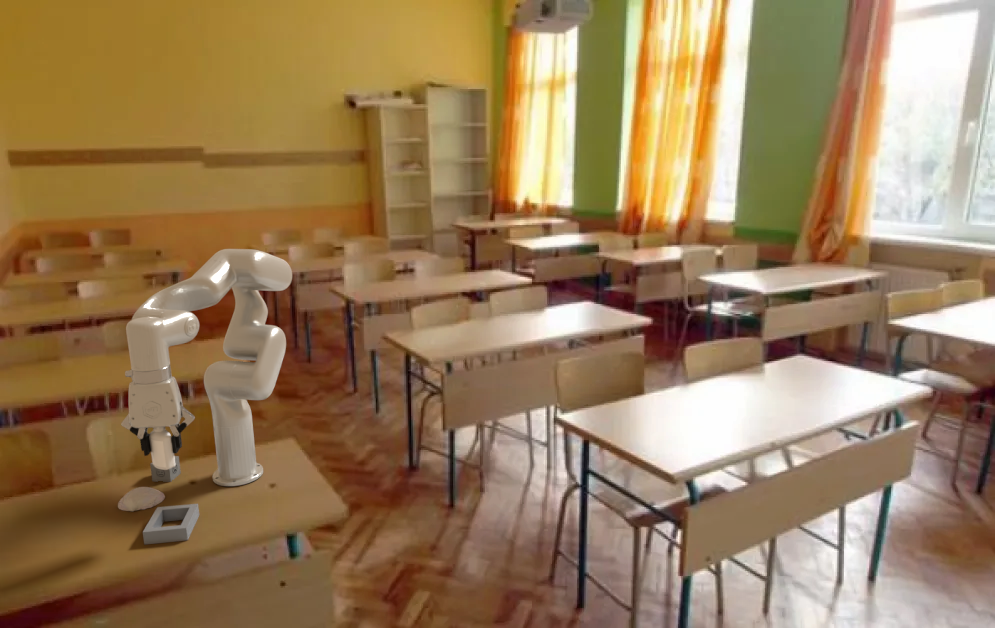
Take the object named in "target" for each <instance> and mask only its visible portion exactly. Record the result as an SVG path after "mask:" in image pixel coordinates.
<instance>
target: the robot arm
mask: <svg viewBox="0 0 995 628" xmlns="http://www.w3.org/2000/svg"><path fill="white" fill-rule="evenodd" d="M292 280H293V271H292V268H291V265H289V263H288V262H287V261H286V260H285V259H282V257H281V258H280V257H278V256H275V255H273V254H270V253H268V252H266V251H262V250H258V249H250V248H249V249H248V248H247V249H246V248H224V249H220V250H219V251H217V252H215V253H214V254H213V255H212V256H211V257H210V258H209V259H208V260H207V261H206V262H205V263H204V264H203V265H202V266H201V267H200V268H199V269H198V270H197V271H195V272H194V274H193V275H192V276H191V277H189V278H187V279H184V280H182V281H179V282H177V283H175V284H172V285H171V286H168V287H166V288H163V289H162V290H160V291H158V292H156V293H154V294H153V295H151V296H150V297H149V298H147V299H146V301H144V302H143V303H142V304H141V305H140V306H139V307H138V308H137V309H136V311H135V313H133V315H132V318H131V320H129V321H128V322H127V324H126V326H125V330H126V331H125V333H126V339H127V346H128V352H129V359H130V360H129V361H130V368H131V369H130V370H125V371H124V375H125V378H131V382H129V385H128V414H127V415H126V416H125V418H124V419H123V420H122V422H121V423H120V425H121V426H122V427H123V428H125V429H127V430H129V432H130V433H132V434H133V435H135V436H137V438H138V439H139V442H140V449H141V452H143V455H144V457H147V456H149V455H150V454H151V447H150V440H149V434H150V433H149V432H148V429H151V428H152V429H153V427H165V428H166V427H169V429H170V431H171V434H172V435H171V441H172V449H173V453H174V455H176V454H178V452H179V451H180V450H181V448H182V447H183V441H182V432H183V431H184V430H185V429H186V428H187V427H188V426H190V424H192V422H194V420H195V418H196V417H195V415H194V414H193V413H192V412H190V411H189V410H188V409H187V408H186V407H184V405H183V399H182V394H181V392H180V388H179V385H178V382H177V379H176V378H175V376H172V375H173V374H172V368H171V360H170V351H169V350H170V349H169V348H170V347H172V346H177V345H183V344H185V343H186V344H187V343H189V342H191V341H192V340H194V338H196V336H197V335H198V332H199V331H200V321H199V319H198V317H197V316H196V315H195V314H194V313H193V311H198V310H203V309H206V308H209V307H212V306H215V305H217V304H218V303H219V302H220V301H221V300H222V299H223V298H224V297H225V296H226V295H227V294H228V292H229V291H230V290H232V292H233V296H234V300H235V301H234V302H235V306H234V310H233V314H232V317H231V319H230V322H229V325H228V328H227V331H226V333H225V337H224V340H223V344H222V350H223V352H224V354H225V355H226V356H227V357H229V358H231V359H235V360H219V361H214V362H213V363H212V364H210V365H208V366H207V368H206V370H205V371H204V375H203V384H204V389H205V392H206V395H207V398H208V400H209V405H210V410H211V417H212V425H213V426H212V428H213V435H214V444H215V445H214V446H215V452H216V462H217V463H216V464H217V469H216V470H214V472H213V474H212V482H214V483H215V484H217V486H222V487H237V486H238V487H239V486H243V485H247V484H250V483H252V482H254V481H256V480H258V479H259V478H260V477H261V476H263V473H264V467H263V465H262V464H261V463H258V462H257V455H256V447H255V446H256V445H255V437H254V436H255V435H254V426H253V415H252V410H251V406H250V405H249V403H248V400H249V401H263V400H266V399H267V398H269V397H270V396H271V394H272V393H273V391H274V388H275V386H276V383H277V380H278V377H279V374H280V370H281V368H282V364H283V360H284V357H285V354H286V350H287V349H286V348H287V339H286V334H285V332H284V331H283V329H281V327H278V326H277V325H273V324H266V322H267V318H268V314H269V309H268V307H267V304H266V302H265V300H264V299H263V296H262V295H261V294H260V291H266V292H267V291H268V292H280V291H284V290H286V289H288V287H289V286H290V285H291V284H292V282H293V281H292ZM241 360H242V361H241ZM251 361H252V362H251ZM253 361H255V362H253ZM182 418H184V420H183V421H182V422H181V419H182ZM180 422H181V423H180Z"/></svg>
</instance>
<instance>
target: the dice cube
mask: <svg viewBox="0 0 995 628" xmlns="http://www.w3.org/2000/svg"><path fill="white" fill-rule="evenodd" d="M174 456H175V464H176V465H175V467H173V468H170V469H168V470H162V469H158V468H156V467H154V465H153V462H151V463H150V464H149V466H150V473H151V481H152V482H158V481H163V482H162V483H171V482H172V480H173V481H174V480H175V479H176V478H177V477H178V476H179V475H181V473H182V472H181V463H180V456H179V455H174Z"/></svg>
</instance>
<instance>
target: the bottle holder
mask: <svg viewBox="0 0 995 628" xmlns="http://www.w3.org/2000/svg"><path fill="white" fill-rule="evenodd" d="M199 516H200V510H199V503H191V504H189V503H188V504H180V505H179V504H177V505H167V506H157V508H156V509H155V510H154V512H153V514H152V516H151V517H150V519H149V521H148V522H147V524H146V526H145V527H144V529H143V531H142V538H143V544H144V545H151V544H153V545H154V544H162V543H172V542H173V543H174V542H183V541H184V542H185V541H189V539H190V537H191V535H192V532H193V530H194V528H195V526H196V523H197V521H198V519H199ZM172 521H182V522H181V523H180V524H179V525H168V526H163V523H164V522H172Z"/></svg>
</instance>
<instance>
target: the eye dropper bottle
mask: <svg viewBox="0 0 995 628" xmlns="http://www.w3.org/2000/svg"><path fill="white" fill-rule="evenodd" d="M148 434H149V440H150V447H151V452H150V454H151V461H152V462H153V465H154V467H156V468H158V469H162V470H168V469H170V468H173V467H175V465H176V464H175V456H176V455H175V454H174V453H173V449H172V441H171V437H172V433H170V432H169V431H168V430H167V429H166V427H153V428H152V431H150V433H148ZM152 462H151V463H152Z"/></svg>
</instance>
